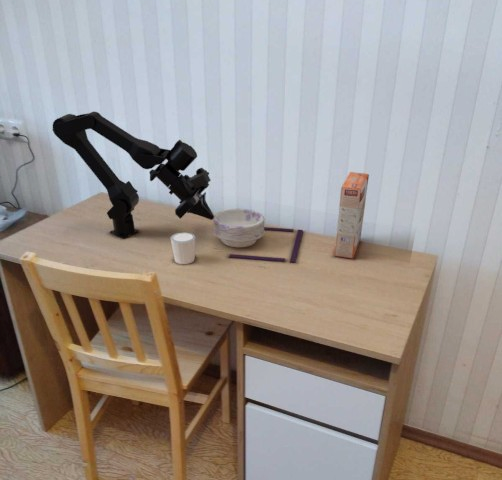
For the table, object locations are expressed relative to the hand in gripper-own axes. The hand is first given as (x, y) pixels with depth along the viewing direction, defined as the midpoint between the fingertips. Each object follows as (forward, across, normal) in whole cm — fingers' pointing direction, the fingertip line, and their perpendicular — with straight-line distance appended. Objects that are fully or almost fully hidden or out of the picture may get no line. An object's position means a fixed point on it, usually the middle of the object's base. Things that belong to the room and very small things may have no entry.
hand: (213, 218), depth 159 cm
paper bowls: (+10, 0, 0) cm, 11 cm away
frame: (+17, 0, -7) cm, 18 cm away
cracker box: (+34, +1, -23) cm, 41 cm away
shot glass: (+1, -15, +9) cm, 17 cm away
